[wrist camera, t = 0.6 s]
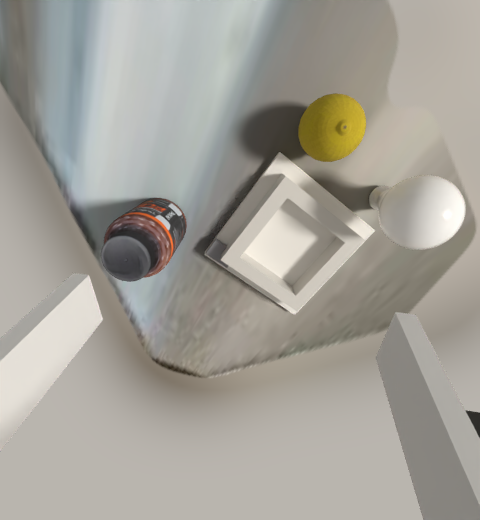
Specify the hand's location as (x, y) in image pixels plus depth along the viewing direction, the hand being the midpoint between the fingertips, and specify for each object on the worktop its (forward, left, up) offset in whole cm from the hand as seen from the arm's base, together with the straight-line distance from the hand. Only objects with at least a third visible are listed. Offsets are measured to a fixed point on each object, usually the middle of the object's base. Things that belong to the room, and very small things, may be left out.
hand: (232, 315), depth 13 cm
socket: (-1, +7, -22) cm, 23 cm away
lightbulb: (-11, +12, -22) cm, 27 cm away
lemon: (-12, +2, -22) cm, 25 cm away
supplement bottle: (+6, -6, -22) cm, 24 cm away
